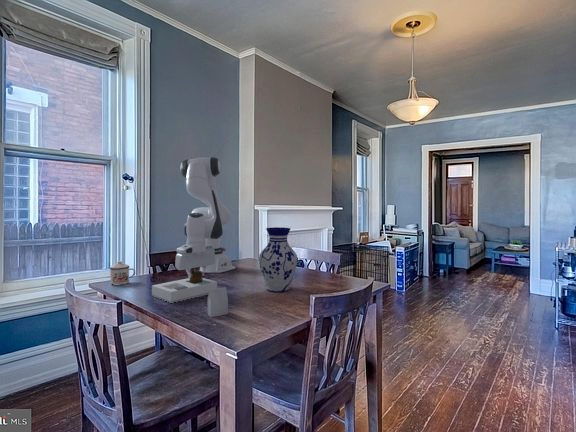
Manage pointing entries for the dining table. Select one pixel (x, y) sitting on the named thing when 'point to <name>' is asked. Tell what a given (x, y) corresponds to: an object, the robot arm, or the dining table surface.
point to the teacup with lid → (120, 273)
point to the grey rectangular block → (217, 302)
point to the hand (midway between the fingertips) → (196, 276)
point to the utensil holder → (196, 276)
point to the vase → (278, 261)
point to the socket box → (182, 290)
